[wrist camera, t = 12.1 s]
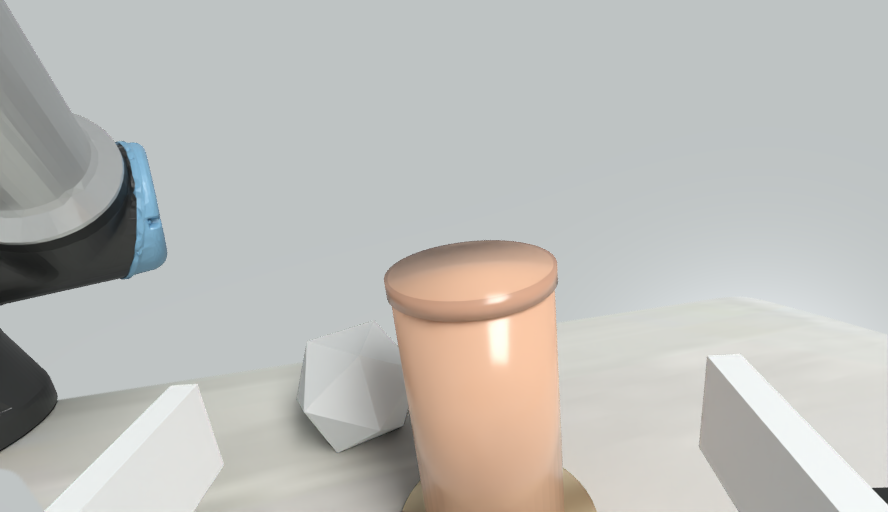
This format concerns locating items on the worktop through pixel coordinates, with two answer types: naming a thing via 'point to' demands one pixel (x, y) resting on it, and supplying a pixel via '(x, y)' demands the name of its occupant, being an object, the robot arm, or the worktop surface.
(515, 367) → the jar
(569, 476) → the disc
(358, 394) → the die
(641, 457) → the worktop surface
